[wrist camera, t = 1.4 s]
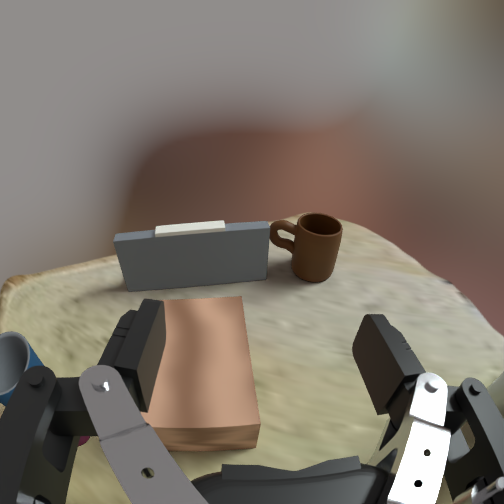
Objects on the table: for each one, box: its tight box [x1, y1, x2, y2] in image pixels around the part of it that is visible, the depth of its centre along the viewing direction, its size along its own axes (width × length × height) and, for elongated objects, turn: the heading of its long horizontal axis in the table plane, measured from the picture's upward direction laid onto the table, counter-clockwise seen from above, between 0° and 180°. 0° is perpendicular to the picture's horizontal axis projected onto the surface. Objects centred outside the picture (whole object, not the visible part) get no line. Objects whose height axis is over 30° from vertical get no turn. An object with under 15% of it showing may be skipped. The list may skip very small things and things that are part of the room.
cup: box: [0, 332, 90, 446], centre depth 19 cm, size 7×7×15 cm
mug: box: [269, 213, 343, 282], centre depth 47 cm, size 12×8×9 cm, turn 83°
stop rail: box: [113, 221, 270, 292], centre depth 45 cm, size 23×7×11 cm, turn 101°
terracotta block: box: [141, 296, 261, 451], centre depth 28 cm, size 10×15×9 cm, turn 7°
